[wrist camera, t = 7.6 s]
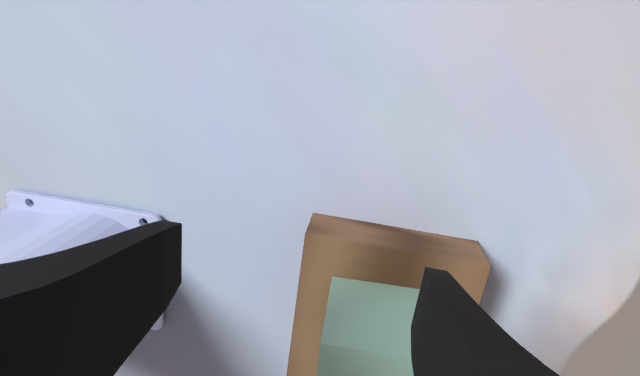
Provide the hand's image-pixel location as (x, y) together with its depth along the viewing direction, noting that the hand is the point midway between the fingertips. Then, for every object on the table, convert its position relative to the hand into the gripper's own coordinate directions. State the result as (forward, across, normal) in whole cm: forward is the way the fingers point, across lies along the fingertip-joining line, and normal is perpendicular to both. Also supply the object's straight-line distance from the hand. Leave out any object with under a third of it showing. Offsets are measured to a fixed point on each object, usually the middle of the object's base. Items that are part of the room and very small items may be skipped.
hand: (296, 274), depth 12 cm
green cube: (+8, -3, +7) cm, 11 cm away
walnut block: (+11, -4, +7) cm, 14 cm away
